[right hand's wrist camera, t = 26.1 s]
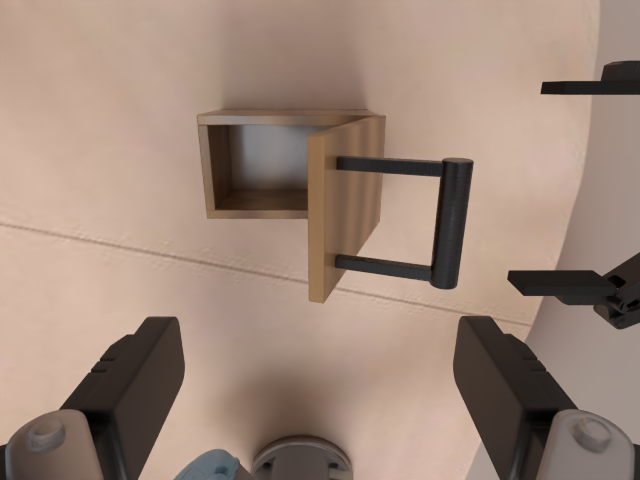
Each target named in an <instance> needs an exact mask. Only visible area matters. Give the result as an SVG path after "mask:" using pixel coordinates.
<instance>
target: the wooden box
mask: <svg viewBox="0 0 640 480" xmlns="http://www.w3.org/2000/svg"><path fill="white" fill-rule="evenodd" d="M375 115H378V114H375V113H373V112H371V111H369V110H248V109H221V110H217V111H212V112H208V113H203V114H199V115H197V123H198V133H199V143H200V153H201V163H202V172H203V182H204V192H205V202H206V210H207V218H208V219H308V149H307V136H308V135H310V134H314V133H317V132H321V131H324V130H328V129H331V128H334V127H338V126H341V125H345V124H348V123H351V122H355V121H358V120H362V119H365V118H369V117H372V116H375ZM378 116H379V115H378Z"/></svg>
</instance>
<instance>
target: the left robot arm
mask: <svg viewBox="0 0 640 480" xmlns="http://www.w3.org/2000/svg"><path fill="white" fill-rule="evenodd" d="M541 94H558V95H640V61H620V62H612V63H609V64H607V65H605V66H604V68H603V73H602V77H601V81H557V82H543V83H542V88H541ZM507 280H508V281H509V282H510V283H511V284H512V285H513V286H514V287H515V288H516V289H517V290H518V291H519V292H520V293H521V294H522V295H523V296H555V297H556V298H557V299H559V300H560V301H561V302H562V303H564V304H567V305H594V307H593V309H594V311H595V312H596V313H597V314H599V315H600V316H601V317H602V318H604V319H605V320H606V321H607V322H609V323H610V324H611V325H612V326H614V327H615V328H616V329H624V328H627V327H630V326H632V325H635V324H638V323H640V252H639V253H638V254H636V255H635V256H633V257H632V258H630V259H629V260H627V261H625V262H624V263H622V264H621V265H619V266H618V267H616V268H614V269H613V270H611V271H610V272H608V273H607V274H605V275H603V276H600V275H599V274H597V273H596V272H594V271H592V270H539V271H509V272H508V278H507ZM617 288H618V289H617ZM174 480H353V472H352V468H351V464H350V462H349V460H348V458H347V456H346V455H345V454H344V453H343V452H342V451H341V450H340V449H339V448H338V447H336V446H335V445H333V444H332V443H330V442H327V441H325V440H322V439H319V438H315V437H309V436H293V437H287V438H283V439H280V440H277V441H275V442H273V443H271V444H269V445H267V446H266V447H265V448H263V449H262V450H261V451H260V452H259V453H258V455H257V456H256V458H255V460H254V462H253V465H252V469H251V474H250V473H249V472H248V471H247V470H246V469H245V468H244V467H243V466H242V465H241V464H240V460H239V459H238V458H236V457H233V456H232V455H231V454H229V453H228V452H227V451H225V450H222V449H214V450H210V451H208V452H206V453H204V454H202V455H200V456H199V457H197V458H196V459H195V460H194V461H192V462H191V463H190V464H188V465H187V466H186V467H185V468H184V469H183V470H182V471H181V472H180V473H179V474H178V475H177V476H176V477H175V478H174Z"/></svg>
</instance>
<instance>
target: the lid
mask: <svg viewBox="0 0 640 480" xmlns="http://www.w3.org/2000/svg"><path fill="white" fill-rule="evenodd" d="M385 119H386V116H378V115H375V116H372V117H369V118H365V119H362V120H358V121H355V122H351V123H348V124H345V125H341V126H338V127H334V128H331V129H328V130H324V131H321V132H317V133H314V134H310V135H308V136H307V149H308V254H309V301H313V302H318V303H324V302H325V301H326V299H327V298H328V296H329V295H330V293H331V292H332V290H333V289H334V287H335V286H336V284H337V283H338V282H339V280H340V279H341V277H342V276H343V274H344V273H345V271H346V270H354V271H361V272H367V273H374V274H381V275H388V276H395V277H402V278H409V279H416V280H423V281H429V282H430V284H431V285H432V286H434V287H436V288H439V289H454V288H455V287H456V286H457V282H458V275H459V267H460V260H461V253H462V245H463V238H464V230H465V223H466V215H467V208H468V201H469V193H470V186H471V178H472V171H473V164H474V162H473V160H470V159H465V158H445V159H443V160H442V161H430V160H412V159H394V158H383V155H384V137H385ZM382 173H389V174H404V175H419V176H434V177H440V186H439V196H438V205H437V214H436V224H435V233H434V242H433V251H432V261H431V266H426V265H419V264H411V263H404V262H396V261H389V260H381V259H374V258H366V257H359V256H356V255H357V254H358V252H359V251H360V249H361V248H362V246H363V245H364V243H365V242H366V240H367V239H368V238H369V236H370V235H371V233H372V232H373V230H374V229H375V227H376V226H377V224H378V223H379V221H380V208H381V190H382Z"/></svg>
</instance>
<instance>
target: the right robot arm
mask: <svg viewBox="0 0 640 480" xmlns="http://www.w3.org/2000/svg"><path fill="white" fill-rule="evenodd" d="M184 372H185V361H184V354H183V347H182V340H181V333H180V326H179V321H178V319H177V318H176V317H147V318H146V319H145V320H144V322H143V323H142V324H141V326H140V327H139V328H138V330H137V331H136V332H135V334H134V335H126V336H124V337H123V338H121V339H120V340H118V341H117V342H115V343H114V344H112V345H111V346H110V347H109V348H108V350H107V351H106V352H105V353H104V355H103V356H102V357H101V358H100V361H98V362H97V363H96V364H95V366H94V367H93V368H92V369H91V373H88V374H87V375H86V377H85V378H84V379H83V380H82V382H81V383H80V384H79V385H78V387H77V388H76V389H75V390H74V392H73V393H72V394H71V395H70V396H69V398H68V399H67V400H66V401H65V403H64V404H63V405H62V406H61V408H60V409H59V410H57V411H53V412H49V413H46V414H44V415H41V416H39V417H37V418H35V419H33V420H31V421H30V422H28V423H27V424H25V425H24V426H23V427H21V428H20V429H19V430H18V431H17V432H16V433H15V434H14V435H13V436H12V437H11V438H10V440H9V442H8V443H7V444H5V445H2V446H0V480H138V478H139V476H140V474H141V472H142V469H143V467H144V465H145V463H146V461H147V459H148V456H149V454H150V452H151V450H152V448H153V446H154V444H155V441H156V439H157V437H158V435H159V433H160V431H161V429H162V426H163V424H164V422H165V420H166V418H167V416H168V413H169V411H170V409H171V407H172V405H173V403H174V401H175V398H176V396H177V394H178V392H179V390H180V388H181V385H182V382H183V379H184ZM453 372H454V378H455V382H456V385H457V387H458V389H459V391H460V394H461V396H462V398H463V400H464V402H465V404H466V407H467V409H468V411H469V413H470V415H471V417H472V420H473V422H474V424H475V426H476V428H477V431H478V433H479V435H480V437H481V439H482V441H483V444H484V446H485V448H486V450H487V452H488V454H489V457H490V459H491V461H492V463H493V465H494V467H495V470H496V472H497V474H498V476H499V478H500V480H640V445H637V444H633V443H632V442H631V440H630V439H629V437H628V436H627V435H626V434H625V433H624V432H623V431H622V430H621V429H620V428H619V427H617V426H616V425H615V424H613V423H612V422H610V421H609V420H607V419H605V418H603V417H601V416H599V415H596V414H594V413H591V412H587V411H583V410H579V409H578V408H577V407H576V405H575V404H574V403H573V402H572V401H571V399H570V398H569V397H568V396H567V394H566V393H565V392H564V391H563V389H562V388H561V387H560V386H559V384H558V383H557V382H556V381H555V379H554V378H553V377H552V376H551V374H550V373H549V372H546V368H545V367H544V366H543V364H542V363H541V362H540V361H538V360H537V357H536V356H535V354H534V353H533V352H532V351H531V350H530V348H529V347H528V346H527V345H526V344H525V343H523V342H522V341H520V340H519V339H517V338H516V337H514V336H513V335H512V334H503V332H502V331H501V330H500V328H499V327H498V326H497V324H496V323H495V322H494V320H493V319H492V318H491V317H490V316H462V317H461V318H460V320H459V325H458V332H457V339H456V346H455V353H454V360H453Z"/></svg>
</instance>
